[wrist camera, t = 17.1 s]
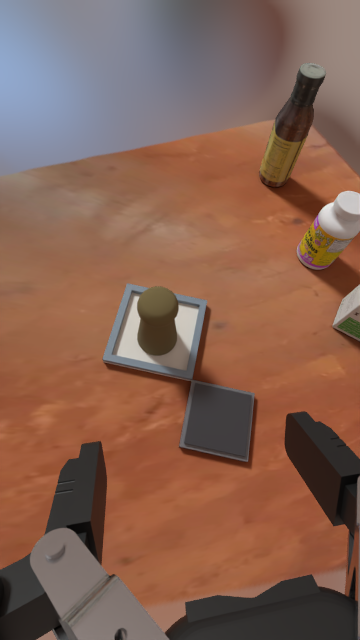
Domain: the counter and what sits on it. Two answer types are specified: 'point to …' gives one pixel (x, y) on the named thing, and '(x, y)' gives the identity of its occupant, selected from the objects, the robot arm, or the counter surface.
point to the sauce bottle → (291, 127)
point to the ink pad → (218, 421)
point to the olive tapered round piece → (157, 320)
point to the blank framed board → (172, 364)
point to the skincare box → (349, 315)
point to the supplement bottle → (331, 231)
